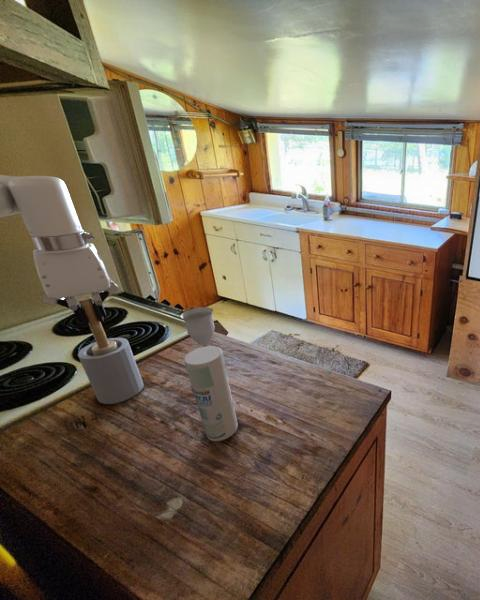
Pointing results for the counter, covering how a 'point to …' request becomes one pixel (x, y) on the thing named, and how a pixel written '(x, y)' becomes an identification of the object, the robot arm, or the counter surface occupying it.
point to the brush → (97, 329)
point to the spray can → (212, 391)
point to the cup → (112, 372)
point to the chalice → (199, 324)
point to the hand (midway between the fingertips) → (93, 320)
